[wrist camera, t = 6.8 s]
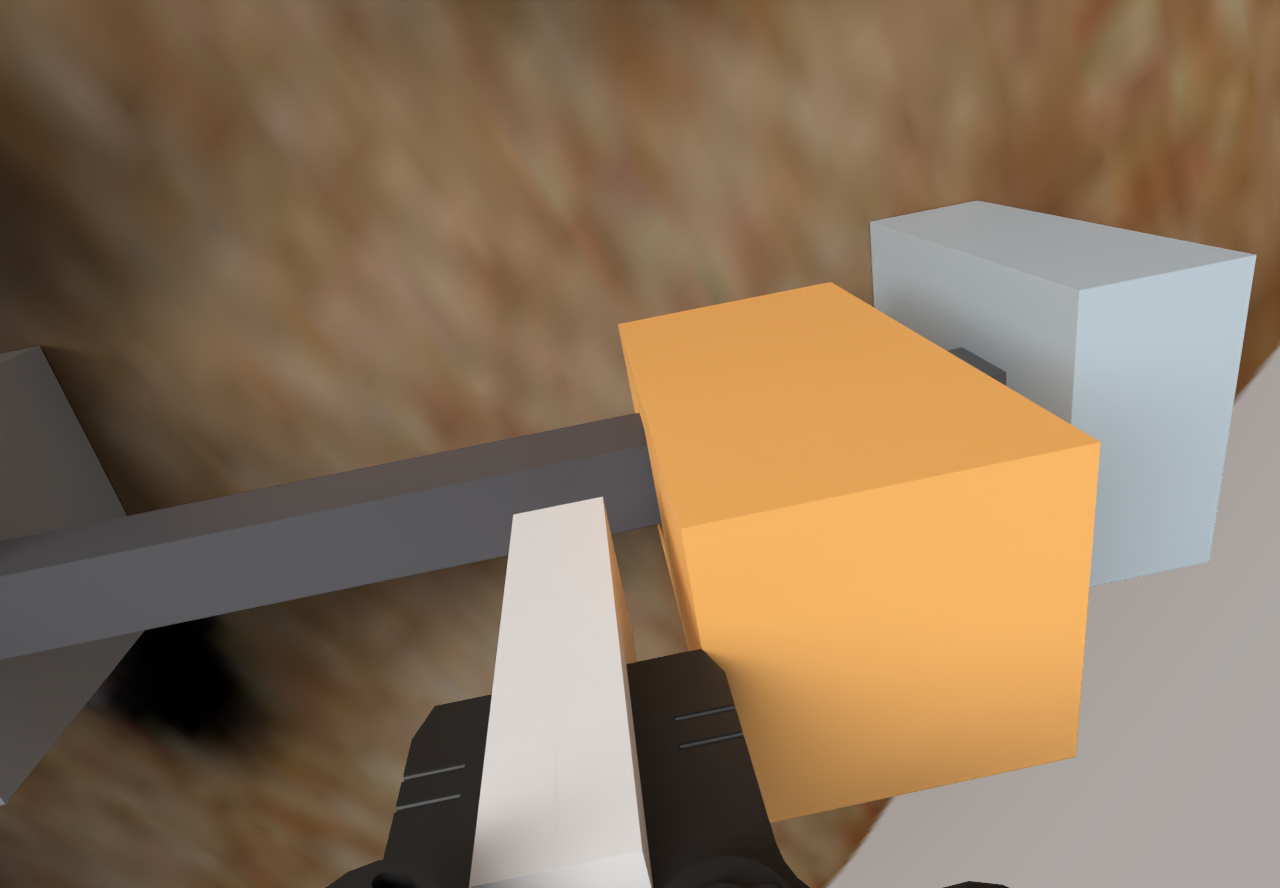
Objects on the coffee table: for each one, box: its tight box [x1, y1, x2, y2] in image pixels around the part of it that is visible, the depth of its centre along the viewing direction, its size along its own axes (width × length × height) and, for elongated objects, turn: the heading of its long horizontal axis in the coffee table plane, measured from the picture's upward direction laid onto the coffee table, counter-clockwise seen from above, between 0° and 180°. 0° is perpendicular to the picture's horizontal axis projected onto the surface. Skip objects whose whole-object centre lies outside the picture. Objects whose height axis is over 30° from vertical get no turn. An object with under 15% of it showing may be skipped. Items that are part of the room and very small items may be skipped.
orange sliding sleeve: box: [618, 282, 1101, 823], centre depth 14 cm, size 5×5×10 cm
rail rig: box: [0, 201, 1256, 805], centre depth 17 cm, size 29×8×9 cm, turn 100°
